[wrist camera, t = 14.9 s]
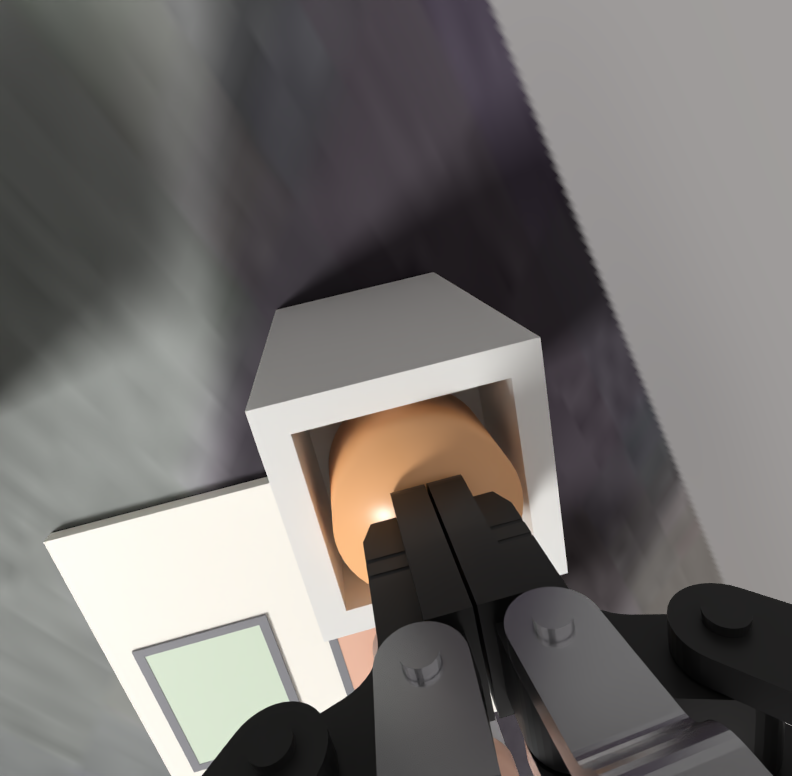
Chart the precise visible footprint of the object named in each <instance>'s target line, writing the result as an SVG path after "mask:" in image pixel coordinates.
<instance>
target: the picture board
mask: <svg viewBox="0 0 792 776" xmlns="http://www.w3.org/2000/svg"><path fill="white" fill-rule="evenodd" d="M44 544H45V546H46V548H47V549H48V551H49V553H50V555H51V557H52V559H53V560H54V562H55V564H56V566H57V568H58V570H59V571H60V573H61V575H62V577H63V579H64V581H65V582H66V584H67V586H68V588H69V590H70V591H71V593H72V595H73V597H74V599H75V601H76V602H77V604H78V606H79V608H80V610H81V612H82V613H83V615H84V617H85V619H86V621H87V623H88V624H89V626H90V628H91V630H92V632H93V634H94V635H95V637H96V639H97V641H98V643H99V644H100V646H101V648H102V650H103V652H104V654H105V655H106V657H107V659H108V661H109V663H110V665H111V666H112V668H113V670H114V672H115V674H116V676H117V677H118V679H119V681H120V683H121V685H122V686H123V688H124V690H125V692H126V694H127V696H128V697H129V699H130V701H131V703H132V705H133V707H134V708H135V710H136V712H137V714H138V716H139V718H140V719H141V721H142V723H143V725H144V727H145V729H146V730H147V732H148V734H149V736H150V738H151V739H152V741H153V743H154V745H155V747H156V749H157V750H158V752H159V754H160V756H161V758H162V760H163V761H164V763H165V765H166V767H167V769H168V771H169V772H170V774H171V776H202V775H203V773H204V772H205V771H206V769H207V768H208V767H209V766H210V764H211V763H212V762H213V761H214V759H215V758H216V757H217V755H218V754H219V753H220V752H221V750H222V749H223V748H224V747H225V745H226V744H227V743H228V741H229V740H230V739H231V738H232V736H233V735H234V734H235V733H236V731H237V730H238V729H239V728H240V727H241V726H242V725H243V724H244V723H245V722H246V721H247V720H248V719H249V718H251V717H252V716H253V715H255V714H256V713H258V712H259V711H261V710H263V709H265V708H267V707H269V706H271V705H274V704H277V703H281V702H288V701H297V702H303V703H306V704H309V705H310V706H312V707H314V708H315V709H316V710H317V711H318V712H320V713H321V712H323V711H325V710H326V709H328V708H329V707H331V706H333V705H334V704H336V703H337V702H339V701H340V700H342V699H344V698H345V697H346V696H348V695H349V694H351V693H352V692H353V691H354V690H355V689H357V688H358V687H359V686H360V685H361V684H362V682H363V681H364V680H365V679H366V678H367V676H368V675H369V673H370V671H371V670H372V668H373V662H374V658H373V648H372V647H373V640H374V637H375V635H376V628H372V629H369V630H365V631H362V632H358V633H355V634H351V635H348V636H344V637H341V638H337V639H334V640H330V641H327V642H324V640H323V637H322V634H321V631H320V628H319V625H318V622H317V619H316V617H315V614H314V611H313V608H312V605H311V602H310V599H309V596H308V593H307V590H306V587H305V585H304V582H303V579H302V576H301V573H300V570H299V567H298V564H297V561H296V558H295V555H294V552H293V550H292V547H291V544H290V541H289V538H288V535H287V532H286V529H285V526H284V523H283V520H282V518H281V515H280V512H279V509H278V506H277V503H276V500H275V497H274V494H273V491H272V488H271V486H270V483H269V480H268V477H264V478H260V479H256V480H252V481H249V482H245V483H241V484H237V485H233V486H230V487H226V488H222V489H218V490H214V491H210V492H207V493H203V494H199V495H195V496H191V497H187V498H184V499H180V500H176V501H172V502H168V503H164V504H161V505H157V506H153V507H149V508H145V509H142V510H138V511H134V512H130V513H126V514H122V515H119V516H115V517H111V518H107V519H103V520H99V521H96V522H92V523H88V524H84V525H80V526H76V527H73V528H69V529H65V530H61V531H57V532H53V533H50V535H49V536H48V537H47V539H46V540H45V541H44ZM490 694H491V693H490ZM491 699H492V696H491ZM492 704H493V709H494V712H497V710H496V707H495V704H494V702H493V699H492Z"/></svg>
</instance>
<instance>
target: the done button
mask: <svg viewBox="0 0 792 776" xmlns="http://www.w3.org/2000/svg"><path fill="white" fill-rule="evenodd" d="M460 474H461V475H462V477H463V479H464V480H465V482H466V484H467V486H468V488H469V490H470V491H471V493H472V495H473V496H477V495H480V494H484V493H488V492H491V491H493V492H495V493H497V494H498V495H500V496H502V497H503V498H505V499H507V500H509V501H510V502H512V504H513V505H514V507H515V508H516V510H517V511H518V513H519V514H520V516H521V517H522V514H523V491H522V487H521V482H520V479H519V477H518V474H517V472H516V470H515V468H514V467H513V465H512V463H511V462H510V460H509V459H508V458H507V456H506V455H505V454H504V452H503V451H502V450H501V448H500V447H499V446H498V444H497V443H496V442H495V440H494V439H493V438H492V437H491V435H490V434H489V433H488V431H487V430H486V429H485V427H484V426H483V425H482V423H481V422H480V421H479V419H478V418H477V417H476V415H475V414H474V413H473V412H472V410H471V409H470V408H469V407H468V406H467V405H466V404H465V403H463V402H462V401H461V400H459V399H458V398H456V397H455V396H453V395H451V394H446V395H442V396H438V397H435V398H431V399H427V400H423V401H419V402H415V403H411V404H407V405H403V406H400V407H396V408H392V409H388V410H384V411H380V412H376V413H372V414H368V415H364V416H361V417H357V418H353V419H349V420H345V421H343V422H342V424H341V425H340V427H339V428H338V430H337V432H336V434H335V436H334V439H333V441H332V444H331V448H330V453H329V479H330V494H331V508H332V523H333V534H334V539H335V543H336V546H337V548H338V551H339V553H340V555H341V557H342V558H343V560H344V562H345V563H346V564H347V566H348V567H349V568H350V569H351V570H352V571H353V572H354V573H355V574H356V575H357V576H358V577H359V578H360V579H362V580H363V581H365V582H366V583H368V584H369V579H368V574H367V567H366V560H365V554H364V547H363V541H364V539H365V536H366V534H367V532H368V529H369V527H370V525H371V524H373V523H377V522H380V521H384V520H388V519H392V518H395V517H396V515H395V511H394V507H393V503H392V499H391V495H390V493H392V492H396V491H400V490H404V489H407V488H411V487H415V486H419V485H423V484H424V485H425V487H426V490H427V483H430V482H433V481H437V480H441V479H445V478H448V477H452V476H456V475H460ZM427 492H428V491H427Z"/></svg>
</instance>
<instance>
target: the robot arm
mask: <svg viewBox="0 0 792 776" xmlns="http://www.w3.org/2000/svg"><path fill="white" fill-rule="evenodd" d="M427 491H428V492H427ZM390 495H391V499H392V503H393V507H394V511H395V515H396V517H395V518H392V519H388V520H384V521H380V522H377V523H373V524H371V525H370V527H369V529H368V532H367V534H366V536H365V539H364V541H363V547H364V554H365V560H366V567H367V574H368V579H369V587H370V594H371V601H372V607H373V614H374V621H375V628H376V634H377V641H378V651H377V653H376V655H375V658H374V662H373V668H372V670H371V671H370V673H369V675H368V676H367V678H366V679H365V680H364V681H363V682H362V684H361V685H360V686H359V687H358V688H357V689H355V690H354V691H353V692H352V693H351V694H349V695H348V696H346V697H345V698H344V699H342V700H340V701H339V702H337V703H336V704H334V705H333V706H331V707H329V708H328V709H326V710H325V711H323V712H321V713H320V712H318V711H317V710H316V709H315V708H314V707H312V706H310V705H309V704H306V703H303V702H297V701H288V702H281V703H277V704H274V705H271V706H269V707H267V708H265V709H263V710H261V711H259V712H258V713H256V714H255V715H253V716H252V717H251V718H249V719H248V720H247V721H246V722H245V723H244V724H243V725H242V726H241V727H240V728H239V729H238V730H237V731H236V733H235V734H234V735H233V736H232V738H231V739H230V740H229V741H228V743H227V744H226V745H225V747H224V748H223V749H222V750H221V752H220V753H219V754H218V755H217V757H216V758H215V759H214V761H213V762H212V763H211V764H210V766H209V767H208V768H207V769H206V771H205V772H204V773H203V775H202V776H501V772H500V768H499V764H498V760H497V755H496V750H495V745H494V740H493V735H492V731H491V726H490V722H491V721H494V720H496V719H495V714H494V709H493V704H492V699H493V702H494V704H495V707H496V710H497V713H498V715H499V718H503V717H507V716H510V715H513V714H515V716H516V719H517V721H518V724H519V726H520V729H521V731H522V734H523V736H524V741H525V746H526V752H527V757H528V762H529V765H530V767H531V770H532V772H533V774H534V776H792V726H790V725H788V724H791V725H792V604H789V603H786V602H783V601H780V600H777V599H773V598H770V597H767V596H763V595H760V594H758V593H754V592H751V591H748V590H745V589H742V588H738V587H734V586H731V585H725V584H716V583H705V584H697V585H692V586H689V587H686V588H684V589H682V590H680V591H679V592H678V593H676V594H675V595H674V596H673V597H672V599H671V600H670V602H669V605H668V609H667V614H653V615H627V614H616V613H610V612H606V611H603V610H600V609H599V608H598V607H597V606H596V605H595V604H594V603H593V602H592V601H591V600H590V599H589V598H587V597H586V596H584V595H582V594H580V593H579V592H576V591H573V590H571V589H569V588H568V587H567V585H566V584H565V582H564V581H563V579H562V578H561V576H560V575H559V573H558V572H557V570H556V569H555V567H554V566H553V564H552V563H551V561H550V560H549V558H548V557H547V555H546V554H545V552H544V551H543V549H542V548H541V546H540V545H539V543H538V542H537V540H536V539H535V537H534V536H533V535H532V534H531V531H530V529H529V528H528V526H527V525H526V523H525V522H523V520H522V517H521V516H520V514H519V513H518V511H517V510H516V508H515V507H514V505H513V504H512V502H510V501H509V500H507V499H505V498H503V497H502V496H500V495H498V494H497V493H495V492H493V491H491V492H488V493H484V494H480V495H477V496H473V495H472V493H471V491H470V490H469V488H468V486H467V484H466V482H465V480H464V479H463V477H462V475H461V474H460V475H456V476H452V477H448V478H445V479H441V480H437V481H433V482H430V483H427V490H426V487H425V485H424V484H423V485H419V486H415V487H411V488H407V489H404V490H400V491H396V492H392V493H390ZM490 693H491V694H490ZM491 696H492V699H491ZM785 722H786V723H788V724H786V723H785Z"/></svg>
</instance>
